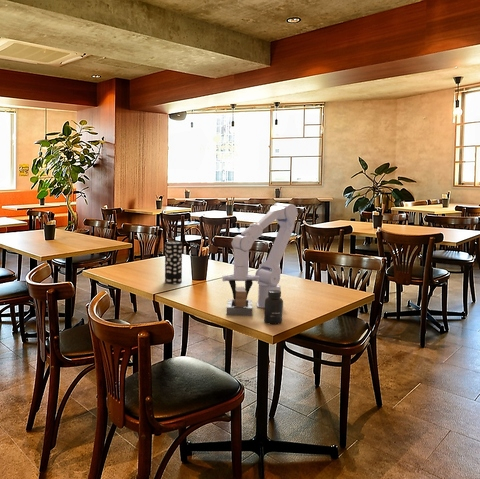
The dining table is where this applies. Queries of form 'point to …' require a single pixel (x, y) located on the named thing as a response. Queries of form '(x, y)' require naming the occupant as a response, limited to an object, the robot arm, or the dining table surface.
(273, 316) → the supplement bottle
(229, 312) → the cradle
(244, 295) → the walnut block
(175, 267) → the spotted tube
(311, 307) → the dining table surface
